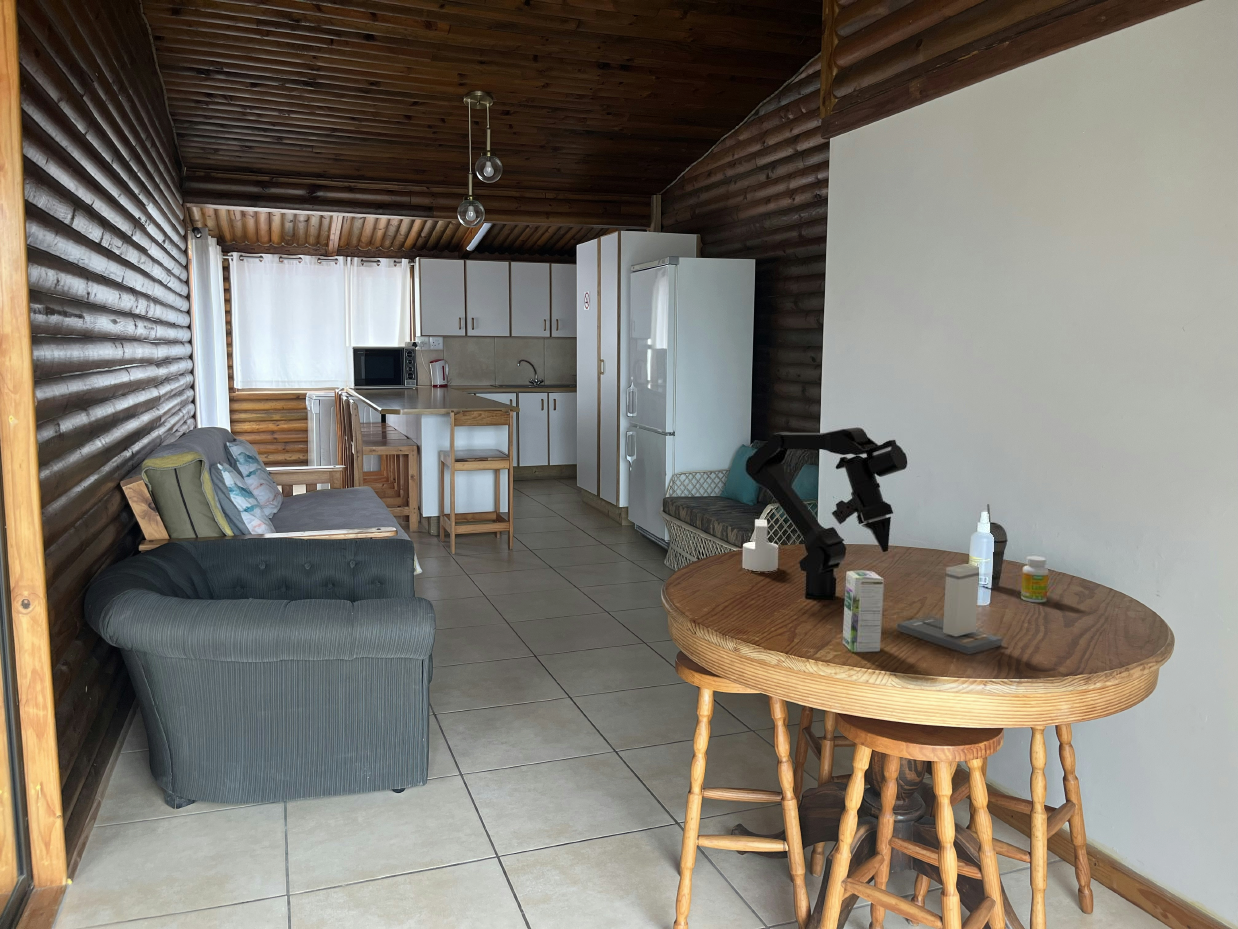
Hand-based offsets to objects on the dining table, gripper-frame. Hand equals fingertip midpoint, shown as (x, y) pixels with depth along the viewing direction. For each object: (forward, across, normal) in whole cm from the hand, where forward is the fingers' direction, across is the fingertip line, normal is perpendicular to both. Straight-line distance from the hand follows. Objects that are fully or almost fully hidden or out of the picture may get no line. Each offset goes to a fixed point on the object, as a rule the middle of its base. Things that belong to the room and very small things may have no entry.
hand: (885, 551), depth 196 cm
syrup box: (+16, +22, -12) cm, 30 cm away
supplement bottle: (+20, -19, +30) cm, 41 cm away
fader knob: (+19, +15, +8) cm, 25 cm away
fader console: (+19, +12, +5) cm, 24 cm away
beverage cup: (+15, -29, +23) cm, 40 cm away
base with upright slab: (-4, -35, -28) cm, 45 cm away
